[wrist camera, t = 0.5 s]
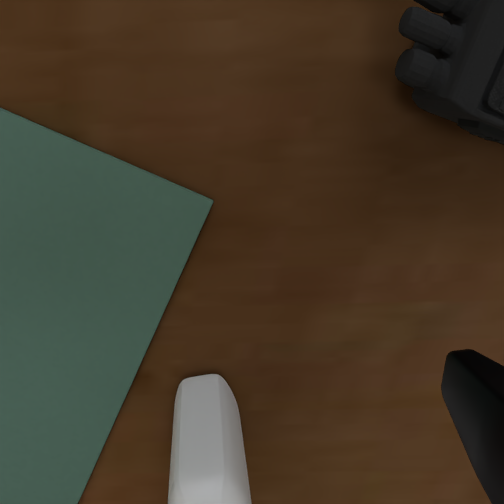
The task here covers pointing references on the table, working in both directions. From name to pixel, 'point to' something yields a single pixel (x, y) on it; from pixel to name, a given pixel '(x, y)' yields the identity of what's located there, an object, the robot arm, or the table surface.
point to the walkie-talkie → (457, 62)
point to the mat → (76, 299)
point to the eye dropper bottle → (207, 445)
